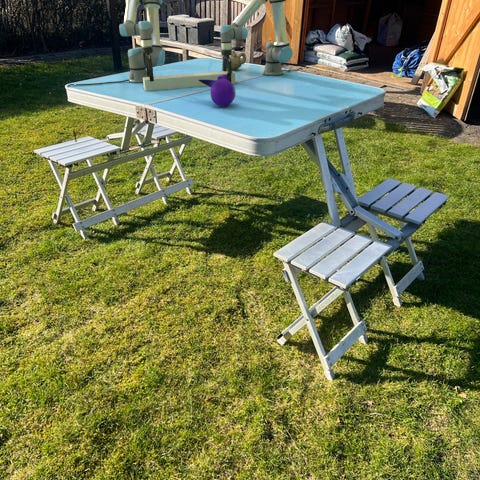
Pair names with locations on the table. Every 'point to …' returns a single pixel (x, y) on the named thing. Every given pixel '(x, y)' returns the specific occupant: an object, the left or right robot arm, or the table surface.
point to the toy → (221, 90)
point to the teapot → (237, 60)
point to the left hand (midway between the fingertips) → (150, 79)
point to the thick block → (182, 80)
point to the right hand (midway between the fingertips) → (227, 82)
